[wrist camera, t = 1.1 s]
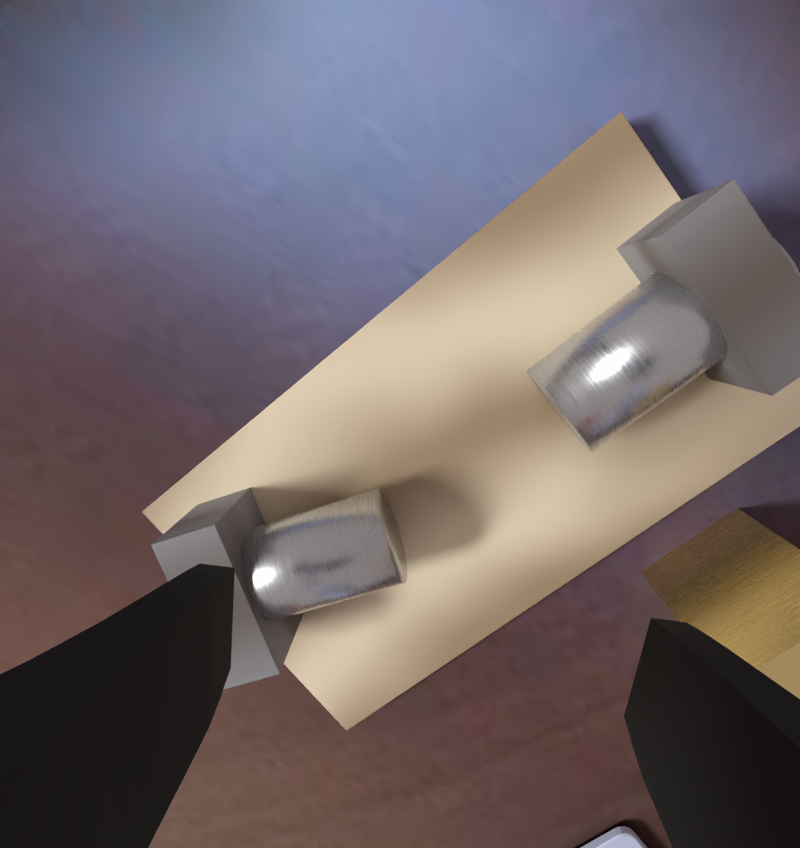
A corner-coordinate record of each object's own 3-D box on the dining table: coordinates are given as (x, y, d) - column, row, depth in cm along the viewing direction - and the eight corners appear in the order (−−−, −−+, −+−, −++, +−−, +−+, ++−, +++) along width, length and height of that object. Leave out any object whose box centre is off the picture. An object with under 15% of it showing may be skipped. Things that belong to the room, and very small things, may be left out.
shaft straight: (699, 226, 16) (759, 209, 13) (754, 307, 16) (824, 308, 14) (519, 364, 17) (538, 377, 14) (575, 437, 18) (604, 464, 15)
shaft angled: (379, 476, 18) (370, 509, 15) (409, 555, 19) (405, 601, 16) (203, 531, 19) (162, 573, 16) (236, 606, 20) (203, 660, 17)
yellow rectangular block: (798, 590, 20) (954, 713, 14) (701, 649, 20) (810, 790, 15) (737, 508, 19) (873, 599, 13) (640, 571, 20) (728, 685, 14)
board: (798, 402, 18) (913, 433, 14) (350, 707, 22) (331, 807, 17) (607, 124, 17) (669, 63, 12) (158, 499, 20) (85, 552, 16)
